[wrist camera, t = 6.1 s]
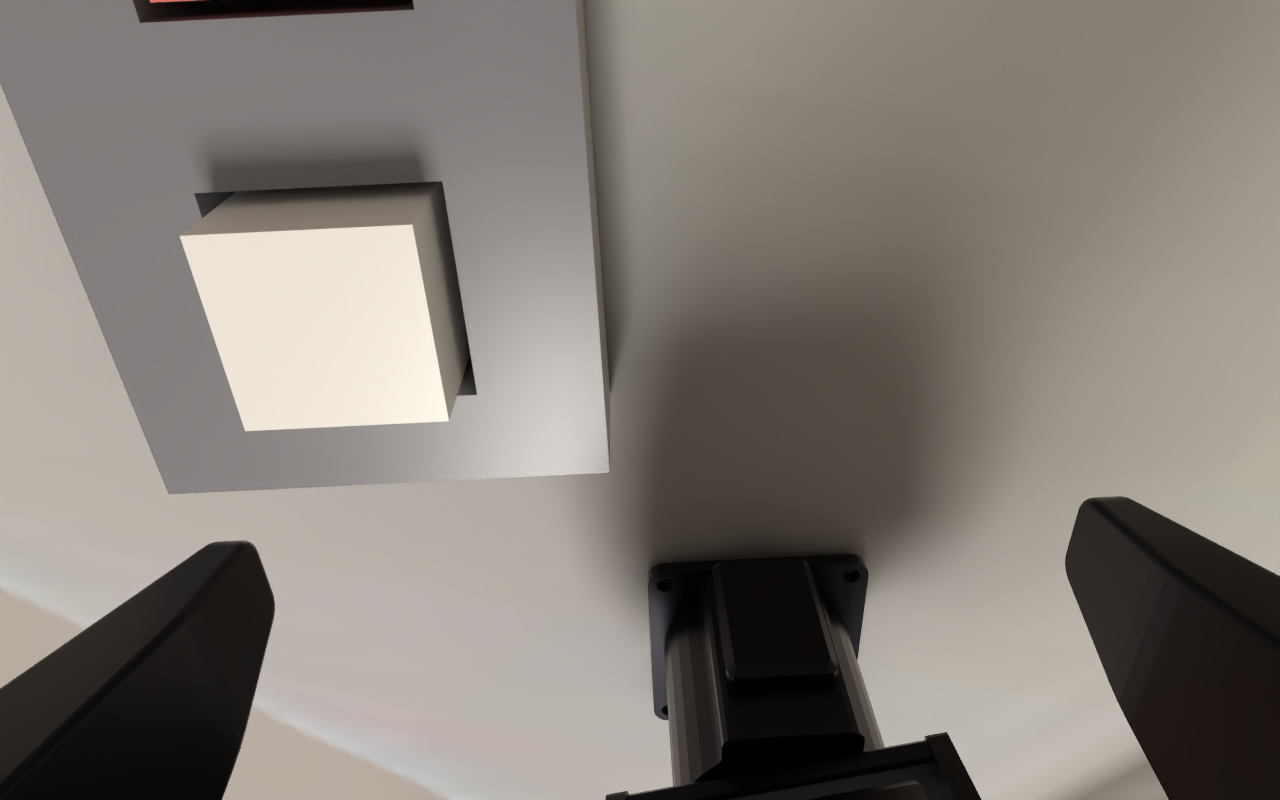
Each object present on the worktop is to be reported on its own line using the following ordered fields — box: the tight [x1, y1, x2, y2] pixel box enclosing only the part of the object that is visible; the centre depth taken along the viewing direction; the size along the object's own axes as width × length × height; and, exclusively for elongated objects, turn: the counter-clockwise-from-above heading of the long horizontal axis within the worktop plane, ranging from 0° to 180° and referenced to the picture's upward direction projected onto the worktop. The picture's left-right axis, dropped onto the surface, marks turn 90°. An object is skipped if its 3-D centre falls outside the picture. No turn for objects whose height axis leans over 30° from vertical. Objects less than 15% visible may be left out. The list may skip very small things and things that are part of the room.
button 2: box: [180, 181, 470, 431], centre depth 17 cm, size 4×4×3 cm
